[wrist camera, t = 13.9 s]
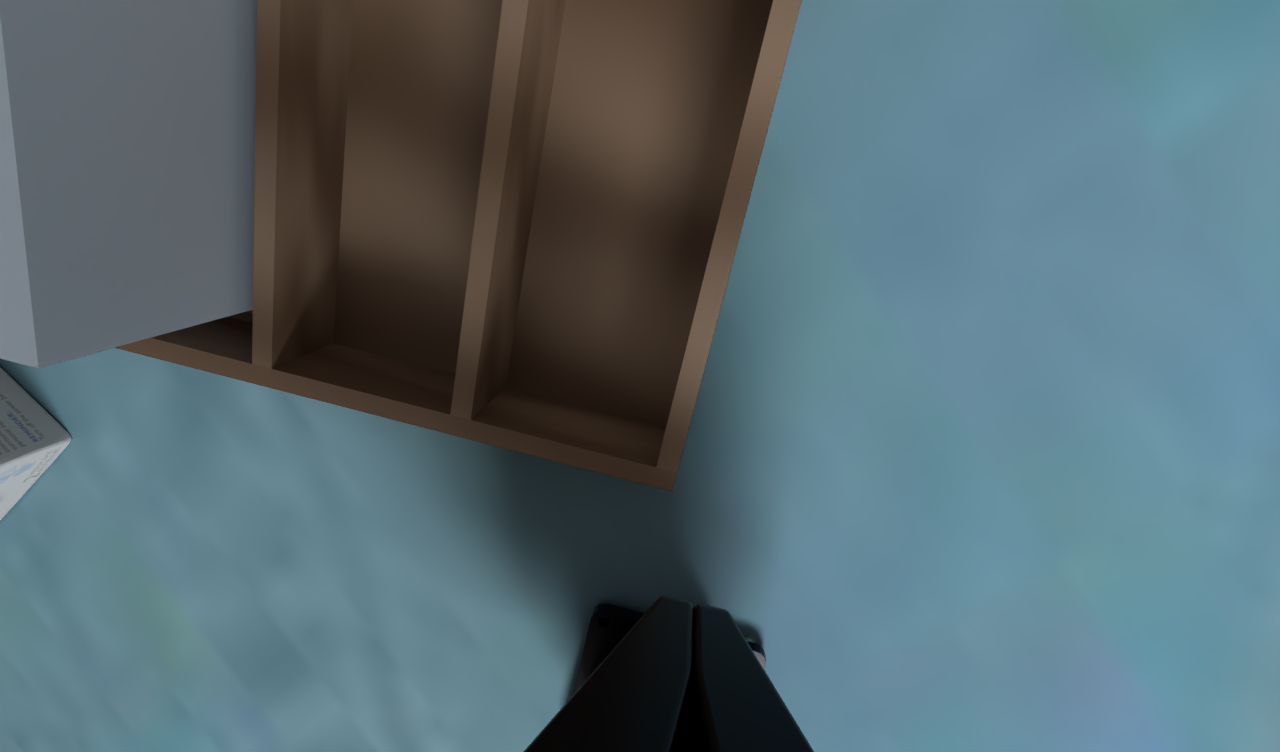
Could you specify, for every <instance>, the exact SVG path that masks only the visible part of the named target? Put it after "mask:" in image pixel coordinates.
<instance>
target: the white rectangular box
mask: <svg viewBox="0 0 1280 752" xmlns="http://www.w3.org/2000/svg"><path fill="white" fill-rule="evenodd" d="M256 36H257V0H0V359H4V360H8V361H12V362H16V363H20V364H23V365H27V366H31V367H35V368H42V367H45V366H49V365H53V364H56V363H60V362H64V361H67V360H71V359H75V358H78V357H82V356H86V355H89V354H93V353H96V352H100V351H104V350H107V349H111V348H115V347H118V346H122V345H126V344H129V343H133V342H137V341H140V340H144V339H148V338H151V337H155V336H158V335H162V334H166V333H169V332H173V331H177V330H180V329H184V328H188V327H191V326H195V325H199V324H202V323H206V322H210V321H213V320H217V319H220V318H224V317H228V316H231V315H235V314H239V313H242V312H246V311H250V310H253V257H254V183H255V109H256Z"/></svg>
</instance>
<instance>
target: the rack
mask: <svg viewBox="0 0 1280 752" xmlns="http://www.w3.org/2000/svg"><path fill="white" fill-rule="evenodd" d="M801 2H802V0H257V36H256V109H255V183H254V257H253V310H250V311H246V312H242V313H239V314H235V315H231V316H228V317H224V318H220V319H217V320H213V321H210V322H206V323H202V324H199V325H195V326H191V327H188V328H184V329H180V330H177V331H173V332H169V333H166V334H162V335H158V336H155V337H151V338H148V339H144V340H140V341H137V342H133V343H129V344H126V345H122V346H118V347H115V348H118V349H122V350H126V351H130V352H134V353H137V354H141V355H145V356H149V357H153V358H157V359H161V360H165V361H168V362H172V363H176V364H180V365H184V366H188V367H192V368H196V369H199V370H203V371H207V372H211V373H215V374H219V375H223V376H227V377H230V378H234V379H238V380H242V381H246V382H250V383H254V384H257V385H261V386H265V387H269V388H273V389H277V390H281V391H285V392H288V393H292V394H296V395H300V396H304V397H308V398H312V399H316V400H319V401H323V402H327V403H331V404H335V405H339V406H343V407H346V408H350V409H354V410H358V411H362V412H366V413H370V414H374V415H377V416H381V417H385V418H389V419H393V420H397V421H401V422H405V423H408V424H412V425H416V426H420V427H424V428H428V429H432V430H435V431H439V432H443V433H447V434H451V435H455V436H459V437H463V438H466V439H470V440H474V441H478V442H482V443H486V444H490V445H494V446H497V447H501V448H505V449H509V450H513V451H517V452H521V453H525V454H528V455H532V456H536V457H540V458H544V459H548V460H552V461H555V462H559V463H563V464H567V465H571V466H575V467H579V468H583V469H586V470H590V471H594V472H598V473H602V474H606V475H610V476H614V477H617V478H621V479H625V480H629V481H633V482H637V483H641V484H644V485H648V486H652V487H656V488H660V489H664V490H668V491H673V487H674V483H675V479H676V475H677V472H678V468H679V464H680V460H681V457H682V453H683V449H684V445H685V441H686V438H687V434H688V430H689V426H690V422H691V419H692V415H693V411H694V407H695V403H696V400H697V396H698V392H699V388H700V384H701V381H702V377H703V373H704V369H705V366H706V362H707V358H708V354H709V350H710V347H711V343H712V339H713V335H714V331H715V328H716V324H717V320H718V316H719V312H720V309H721V305H722V301H723V297H724V294H725V290H726V286H727V282H728V278H729V275H730V271H731V267H732V263H733V259H734V256H735V252H736V248H737V244H738V240H739V237H740V233H741V229H742V225H743V221H744V218H745V214H746V210H747V206H748V203H749V199H750V195H751V191H752V187H753V184H754V180H755V176H756V172H757V168H758V165H759V161H760V157H761V153H762V149H763V146H764V142H765V138H766V134H767V131H768V127H769V123H770V119H771V115H772V112H773V108H774V104H775V100H776V96H777V93H778V89H779V85H780V81H781V77H782V74H783V70H784V66H785V62H786V58H787V55H788V51H789V47H790V43H791V40H792V36H793V32H794V28H795V24H796V21H797V17H798V13H799V9H800V5H801Z"/></svg>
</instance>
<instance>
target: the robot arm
mask: <svg viewBox="0 0 1280 752" xmlns="http://www.w3.org/2000/svg"><path fill="white" fill-rule="evenodd" d="M601 616H606V617H608V618H609V619H610V620H608V621H607V620H603V619H601ZM765 664H766V659H765V652H764V650H763V648H762V647H761V646H759V645H757V644H755V643H752V642H748V641H746V639H745V638H744V636H743V634H742V633H741V631H740V629H739V628H738V626H737V624H736V623H735V621H734V619H733V618H732V616H731V615H730V613H729V612H728V611H727V610H725V609H721V608H717V607H712V606H708V605H703V604H697V605H695V606H694V608H693V605H692V603H691V602H689V601H686V600H682V599H677V598H673V597H669V596H661V597H659V598H658V599H657V600H656V601H655V602H654V604H653V605H652V606H651V607H650V608H649V609H648V610H647V612H646V613H645V614H644V613H640V612H637V611H633V610H629V609H626V608H622V607H618V606H615V605H611V604H604V603H603V604H599V605H598V606H596V607H595V609H594V611H593V613H592V617H591V620H590V625H589V629H588V633H587V637H586V642H585V646H584V650H583V655H582V659H581V663H580V667H579V672H578V676H577V680H576V685H575V689H574V693H573V696H572V697H571V698H570V699H569V701H568V702H567V703H566V704H565V705H564V706H563V707H562V708H561V710H560V711H559V712H558V713H557V714H556V715H555V716H554V718H553V719H552V720H551V721H550V722H549V723H548V724H547V726H546V727H545V728H544V729H543V730H542V731H541V732H540V734H539V735H538V736H537V737H536V738H535V739H534V740H533V742H532V743H531V744H530V745H529V746H528V747H527V748H526V750H525V751H524V752H814V751H813V749H812V748H811V746H810V744H809V743H808V741H807V739H806V738H805V736H804V735H803V733H802V731H801V730H800V728H799V726H798V725H797V723H796V721H795V720H794V718H793V716H792V715H791V713H790V712H789V710H788V708H787V707H786V705H785V703H784V702H783V700H782V698H781V697H780V695H779V693H778V692H777V690H776V688H775V687H774V685H773V684H772V682H771V680H770V679H769V677H768V675H767V674H766V672H765V670H764V668H765Z"/></svg>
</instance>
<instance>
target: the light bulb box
mask: <svg viewBox="0 0 1280 752" xmlns="http://www.w3.org/2000/svg"><path fill="white" fill-rule="evenodd" d="M71 439H72V438H71V436H70V434H69V433H68V432H67V431H66V430H65V429H64V428H63V427H62V426H61V425H60V424H59V423H58V422H57V421H56V420H55V419H54V418H53V417H52V416H51V415H50V414H49V413H48V412H46V411H45V410H44V409H43V408H42V407H41V406H40V405H39V404H38V403H37V402H36V401H35V400H34V399H33V398H32V397H31V396H30V395H29V394H28V393H27V392H26V391H25V390H24V389H23V388H22V387H21V386H20V385H18V384H17V383H16V382H15V381H14V380H13V379H12V378H11V377H10V376H9V375H8V374H7V373H6V372H5V371H4V370H3V369H2V368H1V367H0V520H1V519H2V518H3V517H4V516H5V515H6V514H7V513H8V511H9V510H10V509H11V508H12V507H13V506H14V505H15V504H16V503H17V502H18V501H19V499H20V498H21V497H22V496H23V495H24V494H25V493H26V492H27V490H28V489H29V488H30V487H31V486H32V485H33V484H34V483H35V481H36V480H37V479H38V478H39V477H40V476H41V475H42V474H43V473H44V472H45V470H46V469H47V468H48V467H49V466H50V465H51V464H52V463H53V462H54V460H55V459H56V458H57V457H58V456H59V455H60V454H61V452H62V451H63V450H64V449H65V448H66V447H67V446H68V444H69V443H70V442H71Z"/></svg>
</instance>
